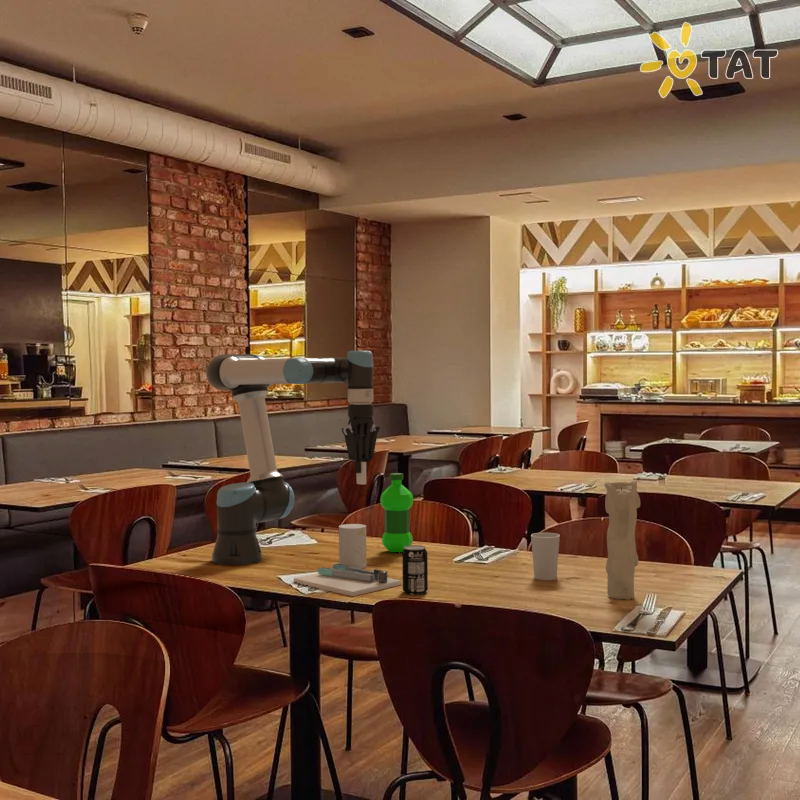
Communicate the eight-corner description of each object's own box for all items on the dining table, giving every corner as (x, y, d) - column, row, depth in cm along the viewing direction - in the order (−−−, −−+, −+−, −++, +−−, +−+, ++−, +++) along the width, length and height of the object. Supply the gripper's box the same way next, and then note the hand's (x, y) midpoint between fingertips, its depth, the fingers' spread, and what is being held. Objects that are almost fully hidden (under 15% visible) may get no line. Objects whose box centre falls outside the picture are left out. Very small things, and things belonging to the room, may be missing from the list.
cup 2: (538, 581, 269) (537, 538, 268) (526, 575, 277) (526, 533, 276) (564, 579, 271) (564, 536, 271) (552, 574, 279) (552, 532, 278)
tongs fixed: (329, 576, 278) (329, 562, 278) (338, 574, 281) (338, 560, 281) (383, 588, 263) (382, 573, 263) (392, 585, 266) (392, 571, 266)
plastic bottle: (381, 548, 320) (381, 472, 319) (414, 548, 319) (413, 472, 318) (379, 554, 309) (379, 475, 309) (413, 554, 309) (412, 475, 308)
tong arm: (318, 574, 274) (318, 568, 274) (323, 572, 276) (322, 567, 276) (370, 581, 264) (370, 575, 264) (374, 580, 266) (374, 574, 266)
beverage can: (413, 588, 262) (412, 543, 262) (432, 591, 258) (432, 546, 258) (397, 593, 257) (397, 547, 257) (417, 596, 253) (416, 550, 253)
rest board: (293, 582, 271) (293, 578, 271) (342, 572, 284) (341, 568, 284) (352, 596, 254) (352, 591, 254) (401, 584, 267) (401, 580, 267)
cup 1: (362, 569, 287) (362, 528, 287) (336, 568, 289) (335, 528, 289) (369, 563, 295) (368, 524, 295) (343, 563, 297) (342, 523, 297)
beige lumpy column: (643, 596, 251) (643, 479, 250) (632, 603, 244) (631, 482, 243) (611, 592, 256) (611, 477, 255) (599, 598, 249) (599, 481, 248)
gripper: (351, 404, 279) (352, 487, 280) (385, 403, 288) (386, 483, 289) (335, 403, 285) (336, 484, 285) (369, 402, 293) (369, 480, 294)
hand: (361, 483), depth 287 cm, fingers closed
